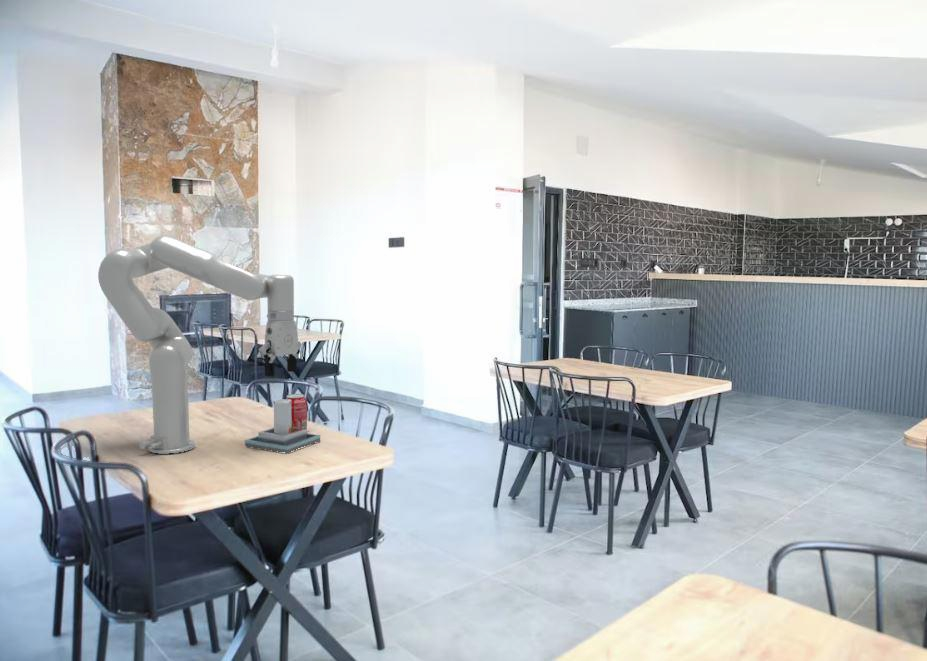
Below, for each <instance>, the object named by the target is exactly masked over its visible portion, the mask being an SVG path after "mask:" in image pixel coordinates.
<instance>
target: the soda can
mask: <svg viewBox="0 0 927 661" xmlns="http://www.w3.org/2000/svg"><path fill="white" fill-rule="evenodd" d="M285 399H291V416H292V427H298V428H304V429H307V430H308V403H307V402H308V401H307V399H306V397H305V394H302V393H294V394H293V393H292V394H287V395H286V398H285Z"/></svg>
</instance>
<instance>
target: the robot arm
mask: <svg viewBox="0 0 927 661" xmlns="http://www.w3.org/2000/svg"><path fill="white" fill-rule="evenodd" d="M166 269H171V270H173V271H177V272H179V273H181V274H185V275H187V276H189V277H191V278H193V279H195V280H199V281H200V282H203V283H205V284H207V285H211V287H212V286H213V287H215V288H217V289H219V290H221V291H224V292H227V293H229V294H230V295H233V296H236V297H238V298H240V299H244V300H247V301H256V300H258V299H263V298H264V299H265V298H267V315H266V318H267V321H266V324H265V333H264V344H263V345H262V346H260V348H258V352H259V355H260V359H262V362H263V363H264V376H265V377H272V378H273V377H275V374H276V372H275V371H276V370H275V365H276V364H275V362H274V360H276V357H284V356H287V357H288V358H287V359H286V360H287V361H286V364H287V365H286V366H287V367H286V368H287V369H286V370H287V372H289V373H291V372H292V373H297V371H298V367H297V366H298V365H297V364H298V360H297V359H299V354H300V353H301V349H302V345H303V344H302V343H301V342H300V341H299V335H298V328H297V323H296V320H295V317H294V316H295V310H294V307H295V302H294V301H295V298H294V297H295V295H294V294H295V293H294V292H295V288H294V287H295V283H294V282H295V280H294V277H293V276H292V275H288V274H272V275H266V274H262V273H251V272H250V271H246V270H244V269H241V268H239V267H237V266H235V265H232V264H230V263H228V262H226V261H224V260H223V259H221V258H220V257H218V256H217V255H215V254H214V253H213V252H210V251H207V250H205V249H204V248H200V247H197V246H195V245H192V244H190V243H188V242H186V241H183V240H182V239H181V238H179V237H177V236H173V235H167V234H163V235H158V236H157V237H155V238H154V239H152V241H151V242H149V243H145V244H143V245H140V246H136V247H134V248H126V247H125V248H123V247H122V248H121V247H120V248H116V249H113V250H112V251H110V252H109V253H107V254H106V255H105V257H103V259H102V261H101V262H100V265H99V268H98V274H97V277H98V278H97V279H98V284H99V286H100V289H101V291H102V293H103V295H104V296H105V297H106V300H108V302H109V303H110V305H111V306H112V308H114V310H115V311H116V313H117V315H118V316H119V318H120V319H121V321H122V322H123V323H124V325H125V326H126V328H127V329H128V330H129V332H130V334H131V335H132V336H133V337H134V339H135V340H137V341H139V342H141V343H148V344H149V345H150V346H151V348H152V350H151V352H150V355H149V359H148V365H149V366H148V367H149V374H150V379H151V381H150V382H151V394H152V415H153V416H152V418H153V420H152V422H153V435H150V439H148V441H146V440H145V441H142V442H139V449H140V450H145V449H148V452H149V451H150V453H151V452H152V454H155V453H158V454H157V455H170V454H169V453H174V454H180V453H179V452H181V453H184V451H185V452H188V450H189V451H191V450H193V449H195V448H196V441H195V440H191V439H190V412H189V411H190V410H189V409H190V407H189V388H188V387H189V386H188V377H187V375H188V374H187V366H188V365H189V364H190V362H191V361H192V358H193V354H194V353H193V348H192V346H191V344H190V342H189V341H188V339H187V338H186V336H185V335H184V333H183V332H182V331H181V329H180V328H179V327H178V325H177V323H176V322H175V321H174V319H173V318H172V317H171V316H170V315H169V314H168V313H167V312H166V311H165V310H163V309H161V308H158V307H153V306H152V304H151V303H150V301H149V300H148V299H147V298H146V296H145V295H144V293H143V292H142V291H141V289H140V288H139V287H138V286H137V284H135V282H134V279H135V278H141V277H144V276H148V275H151V274H153V273H156V272H159V271H162V270H166Z"/></svg>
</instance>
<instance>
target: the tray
mask: <svg viewBox="0 0 927 661" xmlns="http://www.w3.org/2000/svg"><path fill="white" fill-rule="evenodd" d="M257 434H258V435H256V436H253V437H250V438H247V439H245V440H244V447H245V446H247V447H246V448H249V447H253V448H252V449H255V448H260V449H259V450H261V449H266V450H265V451H267V450H272V451H271V452H273V451H278V452H285V453H288V452H291V451H293V450H296V449H298V448H301V447H304V446H307V445H310V444H313V443H315V442H318V443H320V442H321V435H320V434H313V433H308V428H307V429H304V428H298V427H292V433H289V434H286V435H280V434H274V427H271V428H268V429H264V430H261V431H258V432H257ZM319 441H320V442H319ZM315 444H316V443H315ZM313 445H314V444H313ZM310 446H311V445H310ZM307 447H308V446H307ZM278 452H277V453H278ZM291 453H292V452H291ZM288 454H289V453H288Z"/></svg>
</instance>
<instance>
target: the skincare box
mask: <svg viewBox="0 0 927 661" xmlns="http://www.w3.org/2000/svg"><path fill="white" fill-rule="evenodd" d="M273 428H274V434H280V435H286V434H289V433H292V416H291V399H286V398H285V399H283V398H277V400H275V402H274V403H273Z"/></svg>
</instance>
